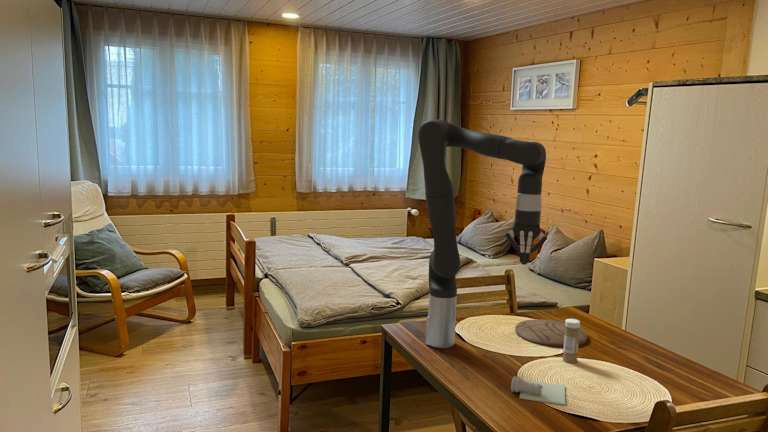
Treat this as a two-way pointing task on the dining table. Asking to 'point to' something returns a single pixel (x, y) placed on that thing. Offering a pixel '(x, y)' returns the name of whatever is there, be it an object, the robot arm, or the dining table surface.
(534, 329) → the trivet
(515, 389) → the rook chess piece
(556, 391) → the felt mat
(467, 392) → the dining table surface
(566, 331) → the sprinkles bottle
